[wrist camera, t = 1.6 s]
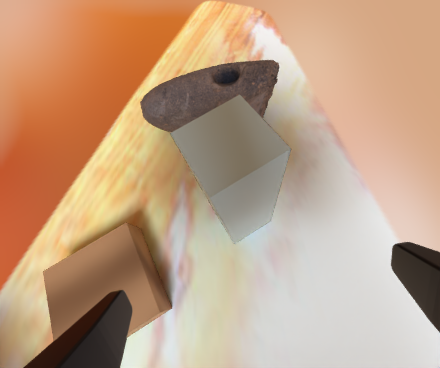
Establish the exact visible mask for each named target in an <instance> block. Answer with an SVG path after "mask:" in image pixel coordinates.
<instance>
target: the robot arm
mask: <svg viewBox="0 0 440 368" xmlns="http://www.w3.org/2000/svg"><path fill="white" fill-rule="evenodd" d="M391 266H392V270H393V271H394V273H395V274H396V276H397V277H398V278H399V280H400V281H401V283H402V284H403V285H404V287H405V288H406V289H407V291H408V292H409V293H410V295H411V296H412V297H413V299H414V300H415V302H416V303H417V304H418V306H419V307H420V308H421V310H422V311H423V312H424V314H425V315H426V316H427V318H428V319H429V320H430V321H431V323H432V324H433V325H434V326H435V327H436V329H437V330H438V331H439V332H440V252H438V251H435V250H432V249H429V248H426V247H423V246H420V245H417V244H414V243H411V242H403V243H397V244H394V246H393V248H392V259H391ZM132 312H133V309H132V305H131V303H130V301H129V299H128V297H127V294H126V292H125V291H124V290H116V291H111V292H110V293H108V294H107V295H106V296H105V297H104V298H103V299H102V300H100V301H99V302H98V303H97V304H96V305H95V306H94V307H92V308H91V309H90V310H89V311H88V312H87V313H86V314H84V315H83V316H82V317H81V318H80V319H79V320H78V321H76V322H75V323H74V324H73V325H72V326H71V327H70V328H68V329H67V330H66V331H65V332H64V333H63V334H61V335H60V336H59V337H58V338H57V339H56V340H55V341H53V342H52V343H51V344H50V345H49V346H48V347H47V348H45V349H44V350H43V351H42V352H41V353H40V354H39V355H37V356H36V357H35V358H34V359H33V360H32V361H31V362H29V363H28V364H27V365H26V366H25V367H24V368H120V365H121V361H122V357H123V353H124V349H125V344H126V340H127V335H128V331H129V327H130V322H131V318H132Z"/></svg>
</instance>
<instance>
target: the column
mask: <svg viewBox="0 0 440 368" xmlns="http://www.w3.org/2000/svg"><path fill="white" fill-rule="evenodd" d="M170 134H171V136H172V138H173V139H174V141H175V143H176V145H177V146H178V148H179V150H180V152H181V153H182V155H183V157H184V159H185V160H186V162H187V164H188V166H189V168H190V169H191V171H192V173H193V175H194V176H195V178H196V180H197V182H198V183H199V185H200V187H201V189H202V190H203V192H204V194H205V196H206V197H207V199H208V201H209V203H210V204H211V206H212V208H213V210H214V211H215V213H216V215H217V216H218V218H219V220H220V221H221V223H222V225H223V226H224V228H225V229H226V231H227V233H228V234H229V236H230V238H231V239H232V241H233V243H234V244H236V243H237V242H239V241H240V240H242V239H243V238H245V237H247V236H248V235H250V234H251V233H253V232H254V231H256V230H258V229H259V228H261V227H262V226H264V225H265V224H267V223H269V222H270V221H271V218H272V215H273V211H274V208H275V204H276V200H277V197H278V193H279V190H280V186H281V183H282V179H283V176H284V172H285V169H286V165H287V162H288V158H289V154H290V151H291V148H290V147H289V146H288V145H287V144H286V143H285V142H284V141H283V140H282V139H281V138H280V136H279V135H278V134H277V133H276V132H275V131H274V130H273V129H272V128H271V127H270V126H269V125H268V124H267V123H266V122H265V121H264V120H263V118H262V117H261V116H260V115H259V114H258V113H257V112H256V111H255V110H254V109H253V108H252V107H251V106H250V105H249V104H248V103H247V102H246V101H245V99H244V98H243V97H242V96H241V95H238V96H236V97H234V98H233V99H231V100H229V101H227V102H225V103H224V104H222V105H220V106H218V107H216V108H215V109H213V110H211V111H209V112H207V113H206V114H204V115H202V116H200V117H199V118H197V119H195V120H193V121H191V122H190V123H188V124H186V125H184V126H182V127H181V128H179V129H177V130H175V131H173V132H172V133H170Z"/></svg>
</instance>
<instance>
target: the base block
mask: <svg viewBox="0 0 440 368" xmlns="http://www.w3.org/2000/svg"><path fill="white" fill-rule="evenodd" d="M43 275H44V281H45V288H46V294H47V301H48V307H49V314H50V320H51V327H52V333H53V339H54V341H55V340H56V339H57V338H58V337H59V336H60V335H61V334H63V333H64V332H65V331H66V330H67V329H68V328H70V327H71V326H72V325H73V324H74V323H75V322H76V321H78V320H79V319H80V318H81V317H82V316H83V315H84V314H86V313H87V312H88V311H89V310H90V309H91V308H92V307H94V306H95V305H96V304H97V303H98V302H99V301H100V300H102V299H103V298H104V297H105V296H106V295H107V294H108V293H110V292H111V291H116V290H124V291H125V292H126V294H127V297H128V299H129V301H130V303H131V305H132V309H133V312H132V318H131V322H130V327H129V331H128V335H127V337H129V336H130V335H132V334H133V333H135V332H136V331H138V330H140V329H141V328H143V327H144V326H146V325H147V324H149V323H150V322H152V321H153V320H155V319H156V318H158V317H160V316H161V315H163V314H164V313H166V312H167V311H169V310H170V309H172V306H171V304H170V301H169V299H168V296H167V294H166V291H165V289H164V286H163V284H162V281H161V279H160V276H159V274H158V271H157V269H156V266H155V264H154V261H153V259H152V256H151V254H150V251H149V249H148V247H147V244H146V242H145V239H144V237H143V234H142V232H141V229H140V228H138V227H135V226H133V225H131V224H129V223H127V222H126V223H124V224H122V225H121V226H119V227H117V228H116V229H114V230H112V231H111V232H109V233H107V234H106V235H104V236H102V237H100V238H99V239H97V240H95V241H94V242H92V243H90V244H89V245H87V246H85V247H84V248H82V249H80V250H78V251H77V252H75V253H73V254H72V255H70V256H68V257H67V258H65V259H63V260H62V261H60V262H58V263H56V264H55V265H53V266H51V267H50V268H48V269H46V270H45V271H43Z"/></svg>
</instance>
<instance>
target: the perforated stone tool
mask: <svg viewBox="0 0 440 368" xmlns="http://www.w3.org/2000/svg"><path fill="white" fill-rule="evenodd" d="M278 71H279V64H278V63H276V62H275V61H274V60H262V61H261V60H260V61H246V62H236V63H227V64H221V65H217V66H212V67H209V68H205V69H201V70H198V71H194V72H191V73H188V74H186V75H181V76H179V77H176V78H173V79H171V80H169V81H166V82H164V83H162V84H160V85H158V86H156V87H155V88H153V89H152V90H151V91H150V92H148V93H147V94H146V95H145V96H144V98H143V99H142V101H141V102H140V103H141V109H142V113H143V117H144V118H145V119H146V120H147V121H148V122H149V123H150V124H152V125H153V126H155V127H157V128H159V129H162V130H165V131H169V132H173V131H175V130H177V129H179V128H181V127H182V126H184V125H186V124H188V123H190V122H191V121H193V120H195V119H197V118H199V117H200V116H202V115H204V114H206V113H207V112H209V111H211V110H213V109H215V108H216V107H218V106H220V105H222V104H224V103H225V102H227V101H229V100H231V99H233V98H234V97H236V96H238V95H241V96H242V97H243V98H244V99H245V101H246V102H247V103H248V104H249V105H250V106H251V107H252V108H253V109H254V110H255V111H256V112H257V113H258V114H259V115H260V116H261V117H262V118H263V115H264V113H265V110H266V108H267V105H268V100H269V99H270V97H271V96H272V92H273V89H274V85H275V84H276V83H277V79H276V78H277V74H278Z"/></svg>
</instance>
